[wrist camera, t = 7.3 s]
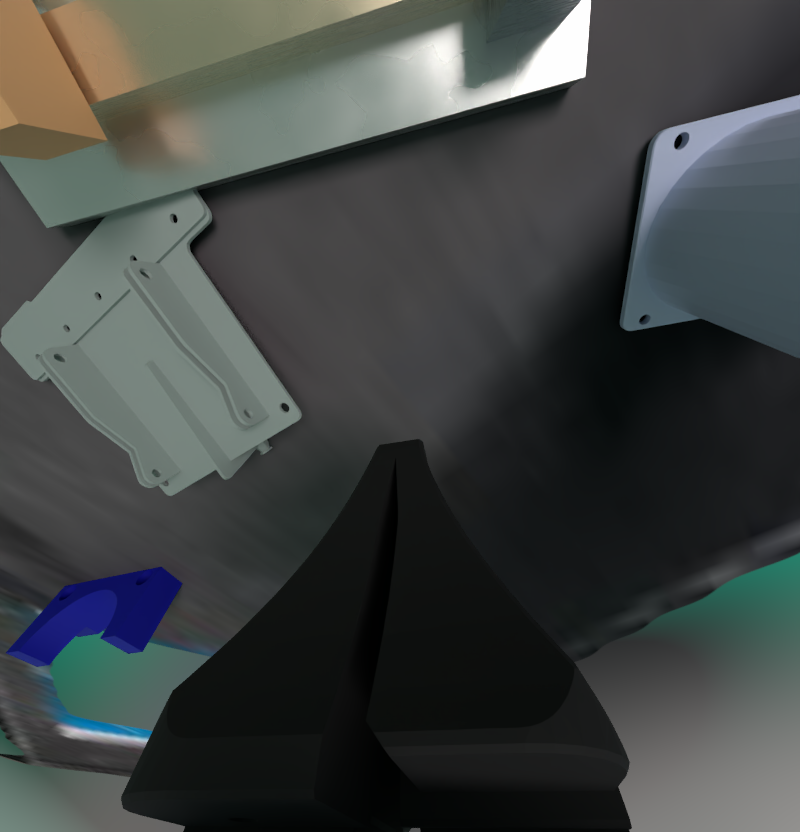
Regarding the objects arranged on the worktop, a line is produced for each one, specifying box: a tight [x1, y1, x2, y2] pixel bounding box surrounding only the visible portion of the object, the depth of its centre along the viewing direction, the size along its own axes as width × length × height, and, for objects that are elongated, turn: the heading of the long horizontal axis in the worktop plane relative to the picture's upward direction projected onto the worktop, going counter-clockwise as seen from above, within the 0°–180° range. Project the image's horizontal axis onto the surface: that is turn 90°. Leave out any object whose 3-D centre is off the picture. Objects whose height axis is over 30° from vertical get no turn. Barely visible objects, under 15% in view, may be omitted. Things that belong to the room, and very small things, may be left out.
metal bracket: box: [0, 190, 302, 496], centre depth 18 cm, size 14×6×15 cm
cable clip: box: [6, 567, 182, 667], centre depth 30 cm, size 12×4×6 cm, turn 108°
